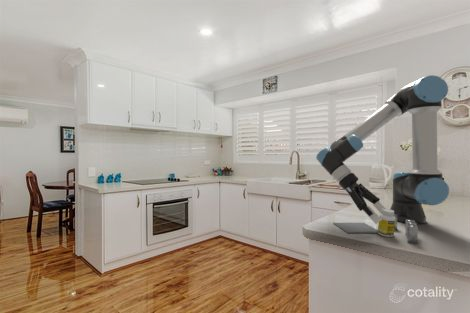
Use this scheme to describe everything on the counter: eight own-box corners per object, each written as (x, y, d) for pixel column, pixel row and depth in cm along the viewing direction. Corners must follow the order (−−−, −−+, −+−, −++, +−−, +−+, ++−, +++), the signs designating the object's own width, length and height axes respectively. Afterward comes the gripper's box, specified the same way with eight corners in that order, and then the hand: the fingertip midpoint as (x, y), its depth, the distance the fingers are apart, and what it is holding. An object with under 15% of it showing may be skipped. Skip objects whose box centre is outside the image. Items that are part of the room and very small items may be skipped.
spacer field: (395, 227, 109) (395, 213, 108) (432, 243, 89) (432, 227, 89) (377, 227, 108) (378, 213, 108) (411, 244, 89) (411, 227, 88)
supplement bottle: (387, 238, 95) (390, 213, 93) (374, 232, 99) (376, 208, 98) (397, 236, 97) (399, 211, 96) (383, 230, 102) (386, 207, 100)
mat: (363, 223, 114) (363, 222, 114) (382, 233, 100) (382, 232, 100) (333, 223, 114) (333, 222, 114) (348, 233, 100) (348, 232, 100)
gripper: (349, 181, 119) (384, 218, 109) (326, 185, 101) (366, 230, 91) (361, 170, 115) (398, 208, 105) (340, 173, 97) (383, 219, 87)
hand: (383, 218), depth 98 cm, fingers open, 13 cm apart
